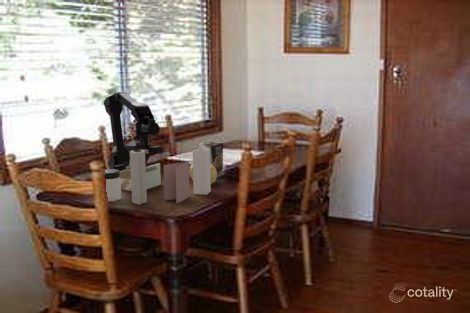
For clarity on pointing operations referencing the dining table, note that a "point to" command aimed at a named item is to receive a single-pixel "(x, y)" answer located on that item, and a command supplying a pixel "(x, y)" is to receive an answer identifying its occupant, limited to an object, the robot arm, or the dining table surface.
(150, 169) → the pale grey-green rectangular panel
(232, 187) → the dining table surface
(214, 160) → the coffee box
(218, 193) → the dining table surface
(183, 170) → the greeting card
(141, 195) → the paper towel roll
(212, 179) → the sculpture
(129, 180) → the beige shallow tray
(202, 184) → the milk
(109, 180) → the jar
